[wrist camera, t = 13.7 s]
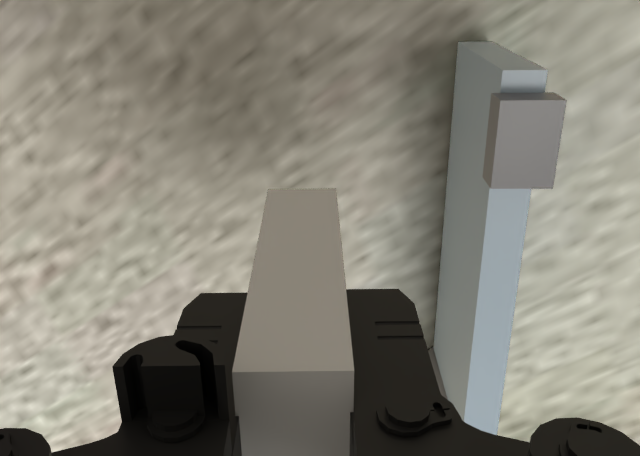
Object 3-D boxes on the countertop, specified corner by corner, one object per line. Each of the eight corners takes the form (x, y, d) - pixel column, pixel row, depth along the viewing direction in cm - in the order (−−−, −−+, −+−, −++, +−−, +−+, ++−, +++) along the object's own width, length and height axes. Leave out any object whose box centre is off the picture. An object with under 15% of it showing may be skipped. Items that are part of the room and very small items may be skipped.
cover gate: (464, 377, 23) (508, 508, 18) (422, 378, 23) (452, 508, 18) (501, 40, 18) (576, 77, 13) (447, 41, 18) (499, 77, 13)
